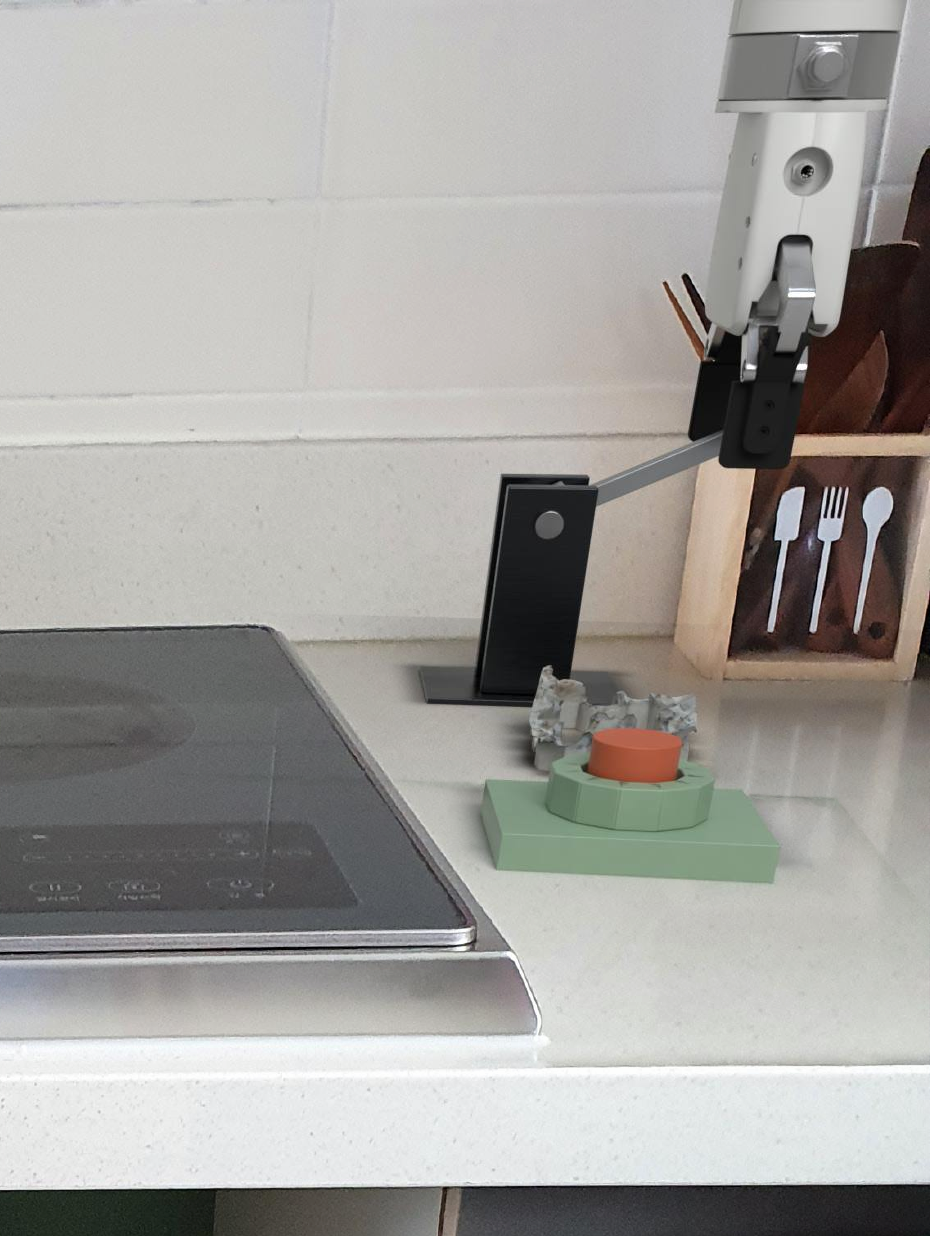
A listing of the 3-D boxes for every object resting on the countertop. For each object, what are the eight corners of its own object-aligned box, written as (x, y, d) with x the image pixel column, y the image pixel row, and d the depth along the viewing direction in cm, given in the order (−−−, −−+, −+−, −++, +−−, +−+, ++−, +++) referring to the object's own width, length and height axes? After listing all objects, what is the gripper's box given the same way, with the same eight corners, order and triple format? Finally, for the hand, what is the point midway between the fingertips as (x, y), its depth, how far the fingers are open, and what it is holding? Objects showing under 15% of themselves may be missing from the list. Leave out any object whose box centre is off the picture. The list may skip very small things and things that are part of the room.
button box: (735, 826, 102) (749, 749, 101) (772, 885, 94) (789, 803, 93) (480, 815, 105) (490, 740, 103) (496, 872, 97) (507, 791, 95)
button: (668, 769, 99) (675, 729, 99) (681, 790, 96) (688, 749, 95) (582, 765, 100) (588, 726, 99) (591, 787, 97) (598, 746, 96)
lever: (752, 443, 118) (739, 399, 117) (772, 458, 113) (759, 411, 112) (519, 540, 122) (505, 498, 122) (528, 557, 118) (514, 514, 117)
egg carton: (527, 742, 117) (539, 661, 115) (684, 752, 114) (699, 670, 113) (516, 793, 108) (529, 706, 106) (686, 805, 105) (702, 717, 104)
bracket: (604, 693, 126) (640, 471, 121) (623, 727, 119) (661, 493, 114) (417, 687, 128) (444, 468, 123) (425, 720, 121) (453, 490, 116)
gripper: (935, 76, 100) (851, 481, 108) (850, 79, 115) (781, 434, 123) (753, 78, 101) (682, 477, 109) (693, 81, 117) (634, 432, 124)
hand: (735, 454), depth 116 cm, fingers open, 9 cm apart
